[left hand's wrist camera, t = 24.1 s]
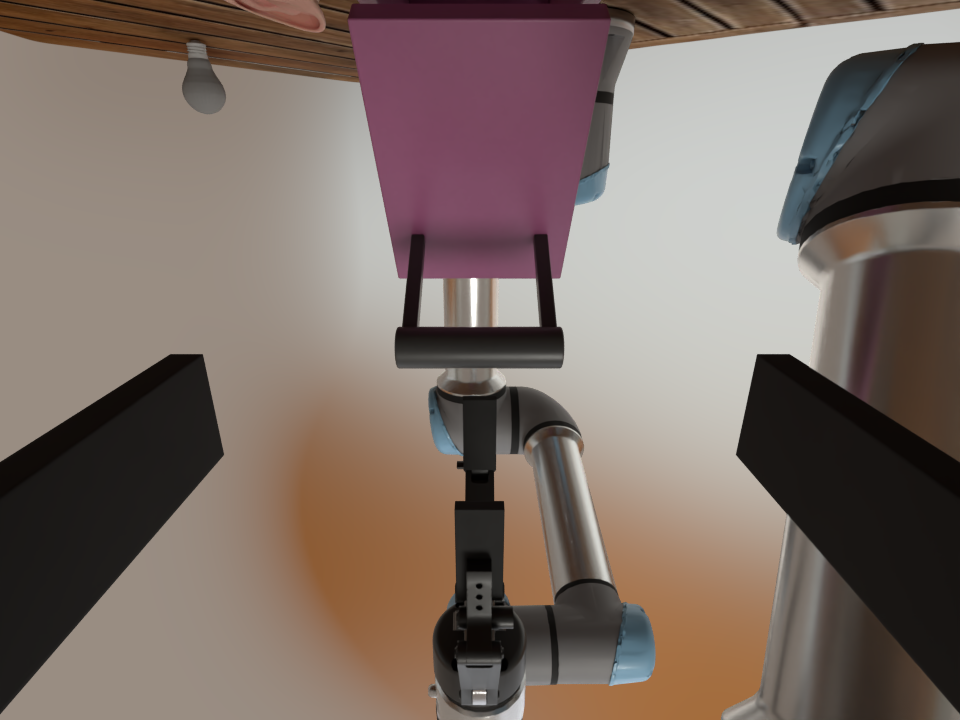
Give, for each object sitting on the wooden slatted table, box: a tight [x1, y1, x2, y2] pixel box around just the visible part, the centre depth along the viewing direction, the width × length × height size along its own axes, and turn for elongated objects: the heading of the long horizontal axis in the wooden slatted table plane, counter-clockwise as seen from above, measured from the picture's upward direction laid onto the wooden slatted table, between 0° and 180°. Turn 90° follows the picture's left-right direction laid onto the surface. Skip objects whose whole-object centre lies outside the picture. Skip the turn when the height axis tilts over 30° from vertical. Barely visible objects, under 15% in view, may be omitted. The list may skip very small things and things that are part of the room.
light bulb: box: [182, 40, 226, 114], centre depth 79 cm, size 6×6×10 cm
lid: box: [348, 4, 611, 368], centre depth 22 cm, size 14×9×9 cm
